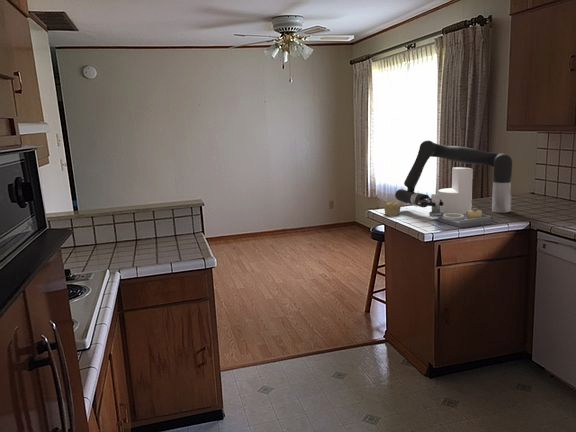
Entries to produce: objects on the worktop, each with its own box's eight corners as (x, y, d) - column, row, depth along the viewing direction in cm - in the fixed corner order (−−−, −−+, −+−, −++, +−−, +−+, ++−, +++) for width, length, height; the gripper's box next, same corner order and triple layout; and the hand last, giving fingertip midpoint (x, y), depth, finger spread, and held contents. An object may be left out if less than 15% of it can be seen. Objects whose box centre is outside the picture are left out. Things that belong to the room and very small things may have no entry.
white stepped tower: (469, 208, 286) (470, 167, 280) (473, 214, 268) (475, 170, 263) (436, 208, 290) (437, 167, 285) (439, 214, 272) (440, 171, 267)
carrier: (467, 216, 263) (468, 203, 261) (491, 222, 246) (492, 208, 244) (437, 220, 256) (438, 207, 255) (460, 227, 239) (460, 212, 238)
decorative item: (394, 222, 274) (405, 208, 272) (380, 212, 275) (391, 198, 272) (393, 219, 283) (404, 206, 281) (380, 209, 284) (390, 196, 281)
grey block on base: (436, 213, 264) (437, 193, 261) (444, 215, 257) (445, 194, 255) (426, 214, 262) (426, 194, 259) (434, 217, 255) (434, 196, 253)
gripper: (409, 194, 268) (428, 199, 252) (430, 192, 273) (449, 196, 257) (409, 207, 270) (427, 212, 254) (430, 204, 274) (449, 209, 259)
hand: (438, 204), depth 256 cm, fingers closed on grey block on base, 4 cm apart
